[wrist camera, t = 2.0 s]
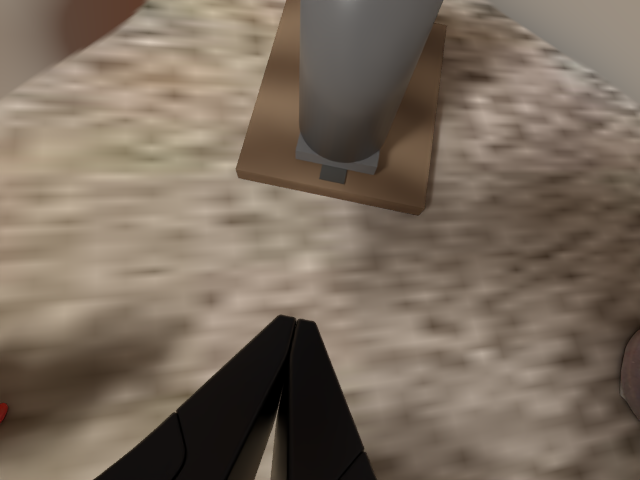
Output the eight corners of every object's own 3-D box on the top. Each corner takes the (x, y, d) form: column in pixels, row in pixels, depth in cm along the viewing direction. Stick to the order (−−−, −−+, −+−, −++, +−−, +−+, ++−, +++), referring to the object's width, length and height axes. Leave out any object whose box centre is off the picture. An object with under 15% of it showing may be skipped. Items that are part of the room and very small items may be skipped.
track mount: (418, 215, 24) (448, 181, 20) (238, 178, 24) (224, 134, 20) (440, 38, 29) (469, -25, 24) (289, 6, 29) (287, -62, 24)
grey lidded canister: (383, 185, 23) (505, -53, 10) (282, 164, 23) (263, -104, 10) (396, 101, 25) (515, -197, 12) (303, 81, 25) (312, -239, 12)
